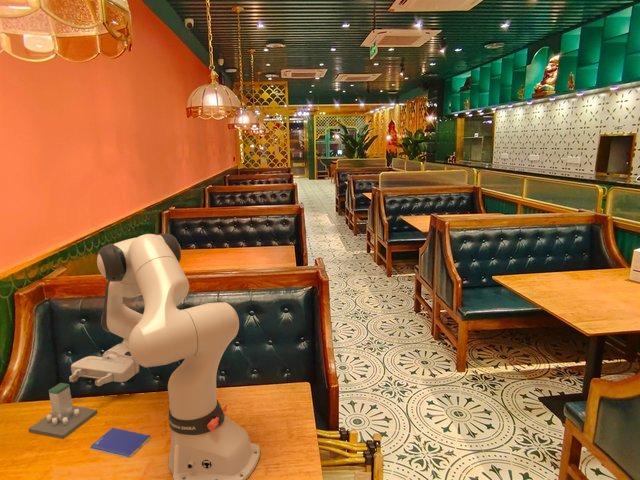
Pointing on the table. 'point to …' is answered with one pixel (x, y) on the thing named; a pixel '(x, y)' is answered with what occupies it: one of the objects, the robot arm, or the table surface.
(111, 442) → the hard drive
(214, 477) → the robot arm
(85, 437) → the table surface
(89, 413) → the dock
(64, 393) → the block
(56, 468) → the table surface
